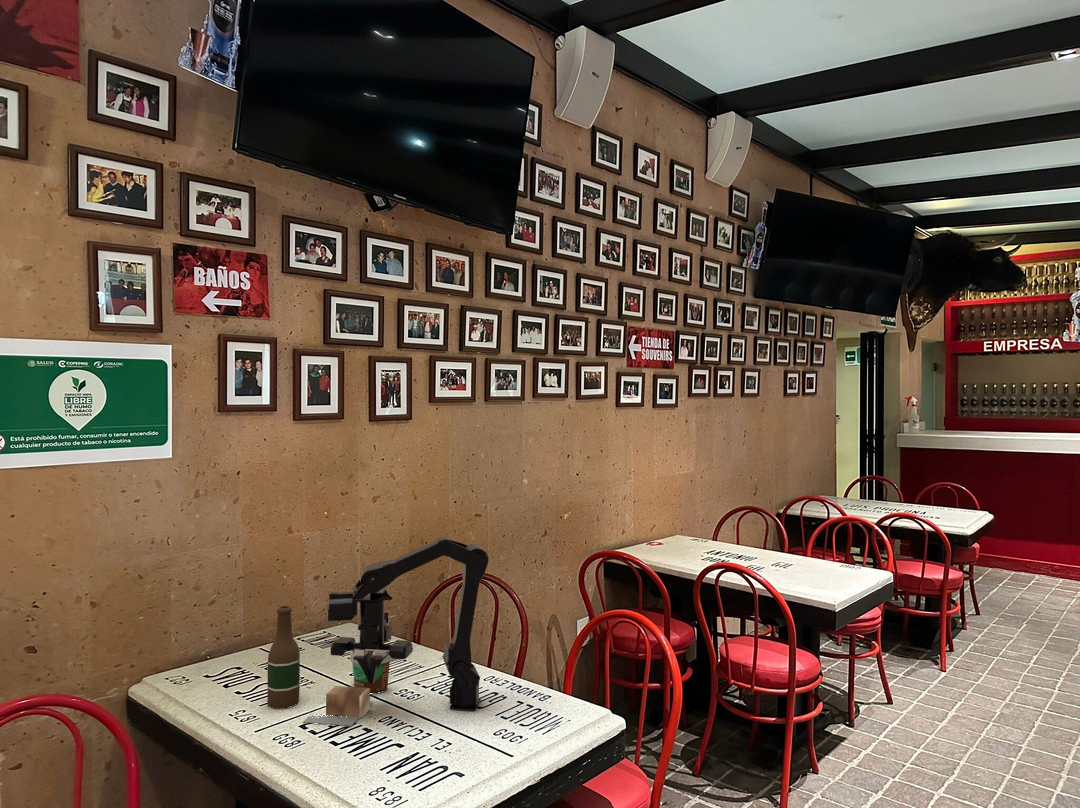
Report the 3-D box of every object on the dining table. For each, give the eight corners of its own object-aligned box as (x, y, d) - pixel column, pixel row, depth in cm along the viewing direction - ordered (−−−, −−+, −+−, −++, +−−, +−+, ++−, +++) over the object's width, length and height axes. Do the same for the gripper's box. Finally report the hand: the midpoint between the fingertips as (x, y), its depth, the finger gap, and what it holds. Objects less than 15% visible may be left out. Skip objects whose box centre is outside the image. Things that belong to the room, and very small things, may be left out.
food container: (339, 690, 191) (339, 651, 191) (355, 682, 196) (355, 645, 196) (376, 699, 185) (376, 659, 185) (391, 691, 191) (392, 652, 191)
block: (370, 688, 179) (335, 685, 180) (361, 696, 174) (326, 693, 175) (369, 708, 179) (335, 706, 180) (361, 717, 174) (326, 714, 175)
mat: (373, 702, 183) (373, 701, 183) (351, 726, 169) (351, 725, 169) (328, 699, 185) (328, 698, 185) (302, 723, 171) (302, 721, 171)
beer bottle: (289, 711, 178) (290, 612, 178) (260, 708, 179) (261, 610, 179) (305, 698, 185) (306, 603, 185) (278, 695, 187) (278, 601, 187)
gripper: (419, 611, 183) (419, 673, 183) (348, 607, 185) (348, 669, 185) (405, 624, 172) (404, 690, 171) (329, 620, 174) (329, 686, 174)
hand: (371, 683), depth 176 cm, fingers closed
